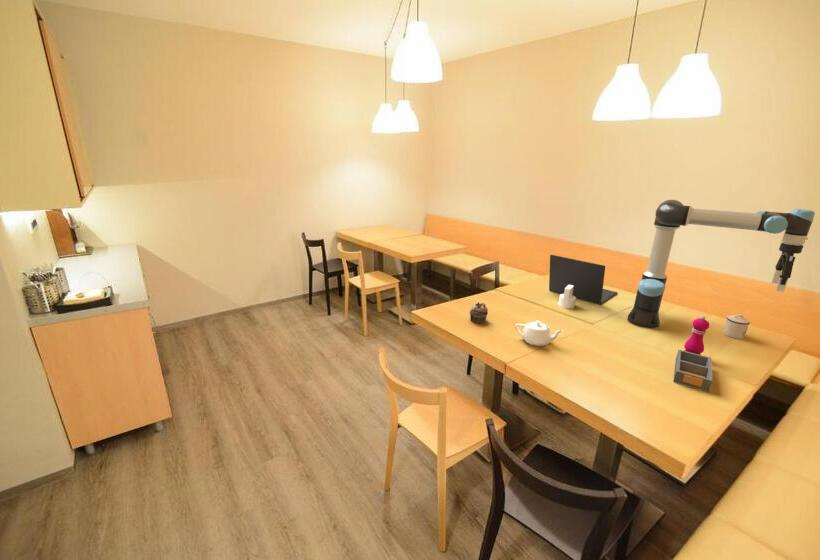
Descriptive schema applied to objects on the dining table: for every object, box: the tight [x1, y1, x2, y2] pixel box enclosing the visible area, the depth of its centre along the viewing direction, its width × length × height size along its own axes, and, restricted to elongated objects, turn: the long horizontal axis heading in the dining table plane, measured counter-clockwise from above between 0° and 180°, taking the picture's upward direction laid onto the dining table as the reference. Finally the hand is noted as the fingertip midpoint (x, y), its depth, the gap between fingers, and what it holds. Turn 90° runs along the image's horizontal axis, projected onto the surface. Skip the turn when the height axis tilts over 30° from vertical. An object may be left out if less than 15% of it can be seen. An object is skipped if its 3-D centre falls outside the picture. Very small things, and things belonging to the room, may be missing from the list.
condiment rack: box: [673, 349, 713, 393], centre depth 156 cm, size 12×22×5 cm, turn 144°
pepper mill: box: [683, 315, 710, 355], centre depth 168 cm, size 7×7×20 cm
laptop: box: [548, 254, 618, 305], centre depth 244 cm, size 33×35×26 cm
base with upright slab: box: [557, 285, 577, 310], centre depth 225 cm, size 9×9×12 cm
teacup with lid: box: [722, 313, 751, 340], centre depth 192 cm, size 12×9×12 cm
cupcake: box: [469, 302, 488, 324], centre depth 203 cm, size 10×10×10 cm
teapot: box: [514, 320, 564, 347], centre depth 180 cm, size 22×14×11 cm, turn 65°
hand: (777, 287), depth 179 cm, fingers open, 13 cm apart
